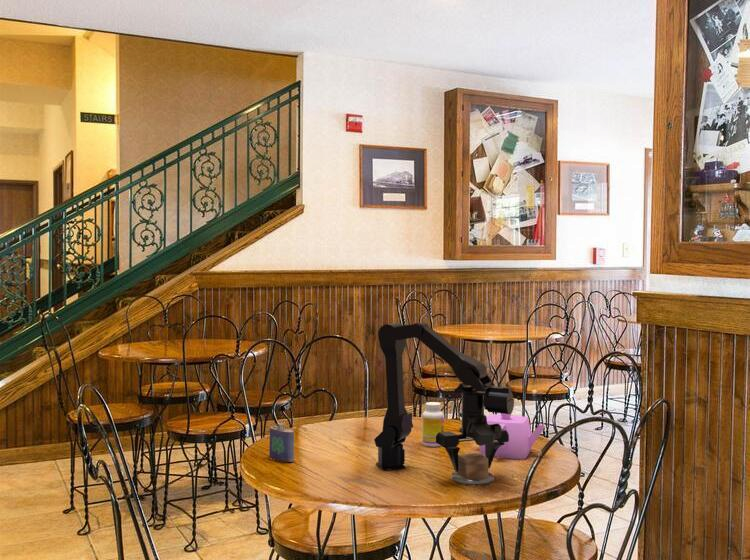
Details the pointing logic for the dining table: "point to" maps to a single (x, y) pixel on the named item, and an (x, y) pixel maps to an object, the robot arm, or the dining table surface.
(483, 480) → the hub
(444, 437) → the robot arm
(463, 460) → the drawer-style box
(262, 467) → the dining table surface
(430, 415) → the supplement bottle
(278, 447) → the flask
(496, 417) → the teakettle
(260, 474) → the dining table surface
